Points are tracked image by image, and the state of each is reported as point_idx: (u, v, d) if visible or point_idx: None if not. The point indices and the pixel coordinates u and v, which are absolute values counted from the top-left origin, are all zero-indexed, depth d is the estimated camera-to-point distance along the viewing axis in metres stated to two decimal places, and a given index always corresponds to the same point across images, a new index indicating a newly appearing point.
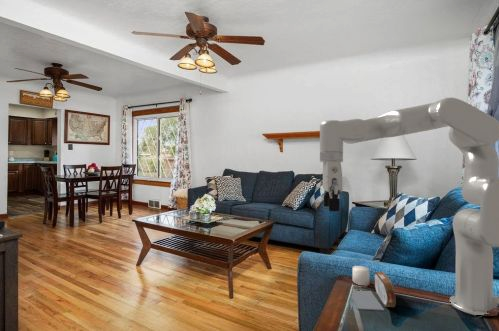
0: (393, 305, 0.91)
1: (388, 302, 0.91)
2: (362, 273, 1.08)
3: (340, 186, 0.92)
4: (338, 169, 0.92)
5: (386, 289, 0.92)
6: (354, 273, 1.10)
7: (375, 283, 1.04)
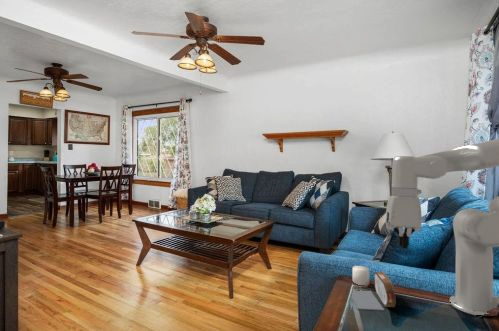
0: (393, 305, 0.91)
1: (388, 302, 0.91)
2: (362, 273, 1.08)
3: None
4: None
5: (386, 289, 0.92)
6: (354, 273, 1.10)
7: (375, 283, 1.04)
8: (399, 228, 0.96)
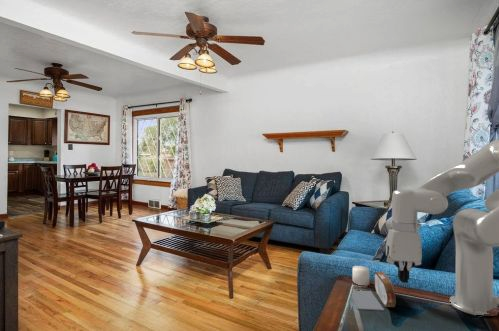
0: (393, 305, 0.91)
1: (388, 302, 0.91)
2: (362, 273, 1.08)
3: None
4: None
5: (386, 289, 0.92)
6: (354, 273, 1.10)
7: (375, 283, 1.04)
8: (399, 262, 0.96)
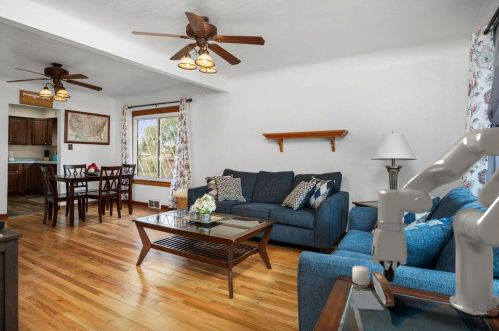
0: (392, 304, 0.91)
1: (387, 302, 0.91)
2: (362, 273, 1.08)
3: None
4: None
5: (383, 289, 0.92)
6: (354, 273, 1.10)
7: (374, 283, 1.04)
8: (385, 261, 0.97)
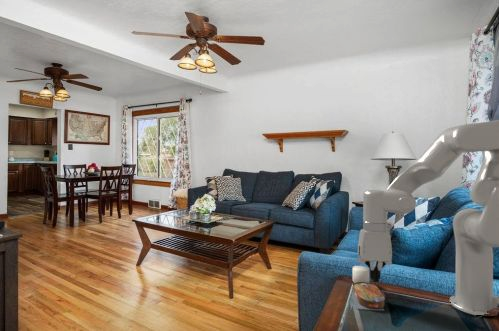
0: (381, 302, 0.92)
1: (378, 307, 0.91)
2: (362, 273, 1.08)
3: None
4: None
5: (365, 305, 0.93)
6: (354, 273, 1.10)
7: None
8: (370, 262, 0.97)
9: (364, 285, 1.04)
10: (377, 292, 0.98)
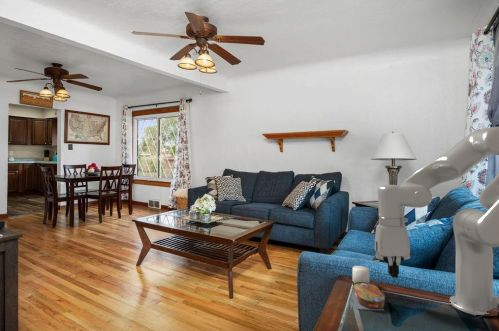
0: (381, 302, 0.92)
1: (378, 307, 0.91)
2: (362, 273, 1.08)
3: None
4: None
5: (365, 305, 0.93)
6: (354, 273, 1.10)
7: None
8: (388, 257, 0.96)
9: (364, 285, 1.04)
10: (377, 292, 0.98)
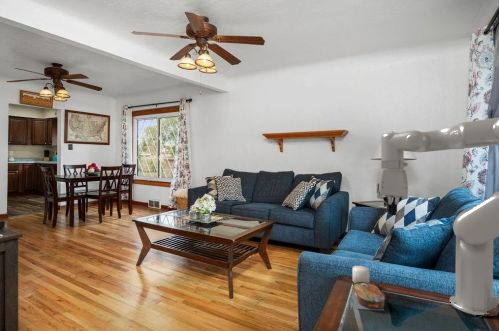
0: (381, 302, 0.92)
1: (378, 307, 0.91)
2: (362, 273, 1.08)
3: None
4: None
5: (365, 305, 0.93)
6: (354, 273, 1.10)
7: None
8: (388, 197, 1.08)
9: (364, 285, 1.04)
10: (377, 292, 0.98)
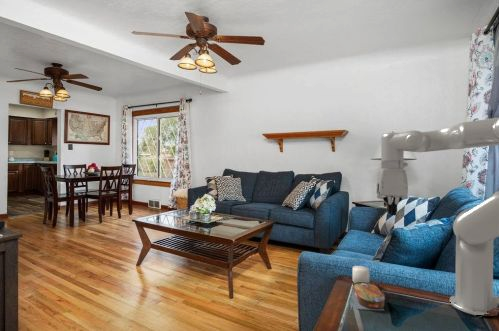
0: (381, 302, 0.92)
1: (378, 307, 0.91)
2: (362, 273, 1.08)
3: None
4: None
5: (365, 305, 0.93)
6: (354, 273, 1.10)
7: None
8: (388, 197, 1.08)
9: (364, 285, 1.04)
10: (377, 292, 0.98)
